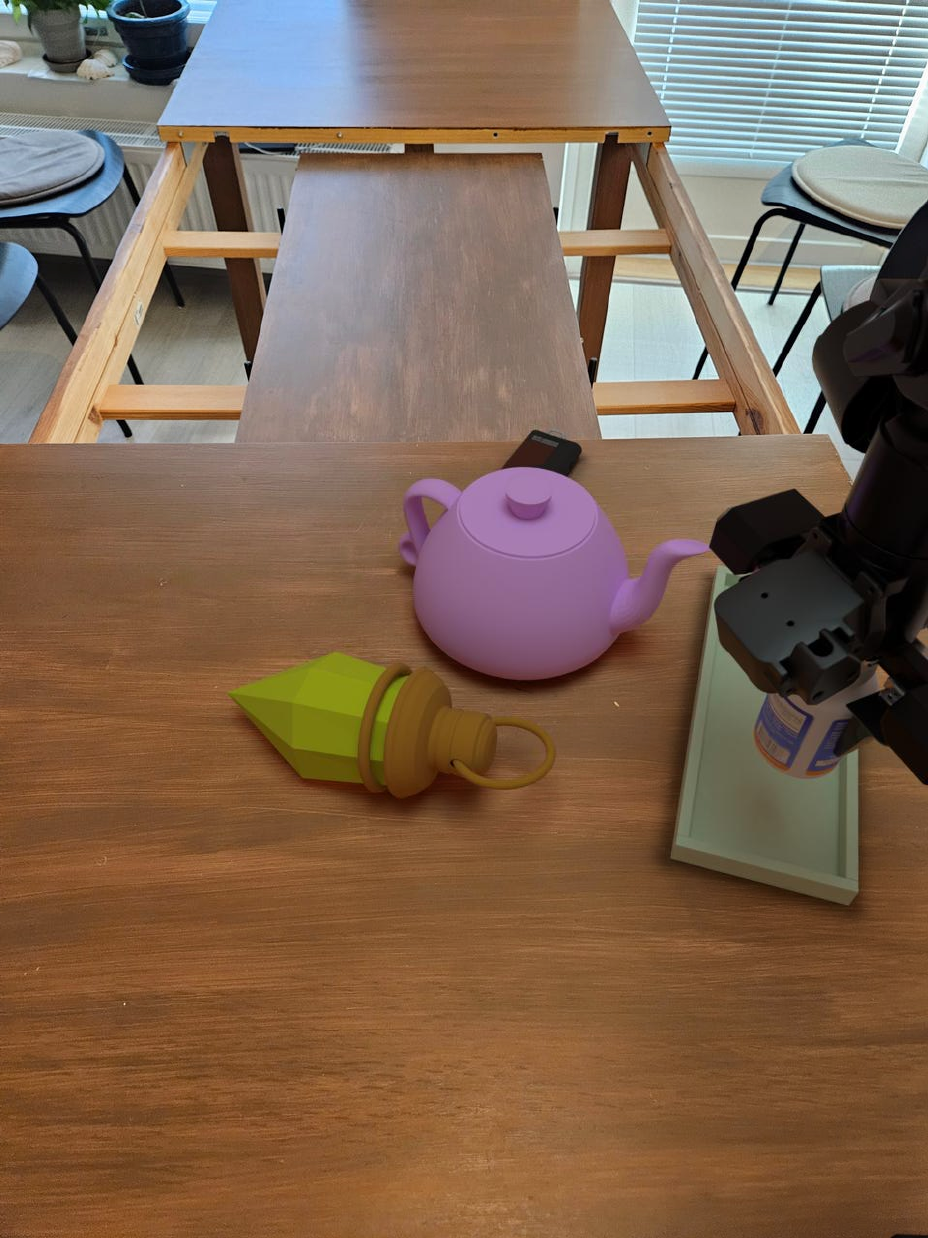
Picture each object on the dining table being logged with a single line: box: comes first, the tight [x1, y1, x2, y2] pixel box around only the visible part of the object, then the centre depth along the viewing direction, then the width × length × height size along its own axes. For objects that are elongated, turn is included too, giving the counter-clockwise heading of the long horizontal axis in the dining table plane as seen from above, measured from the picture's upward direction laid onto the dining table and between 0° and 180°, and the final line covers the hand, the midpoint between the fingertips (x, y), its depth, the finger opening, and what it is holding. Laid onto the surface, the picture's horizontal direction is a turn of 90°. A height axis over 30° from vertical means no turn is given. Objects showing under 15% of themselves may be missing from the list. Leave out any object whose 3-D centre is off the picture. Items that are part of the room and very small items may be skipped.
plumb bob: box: [226, 651, 557, 799], centre depth 62 cm, size 9×9×25 cm
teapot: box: [397, 467, 710, 681], centre depth 70 cm, size 25×18×14 cm
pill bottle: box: [753, 662, 880, 779], centre depth 52 cm, size 5×5×10 cm
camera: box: [499, 428, 583, 477], centre depth 86 cm, size 6×3×11 cm
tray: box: [669, 564, 859, 906], centre depth 67 cm, size 28×12×2 cm, turn 163°
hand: (809, 716), depth 53 cm, fingers closed on pill bottle, 5 cm apart
